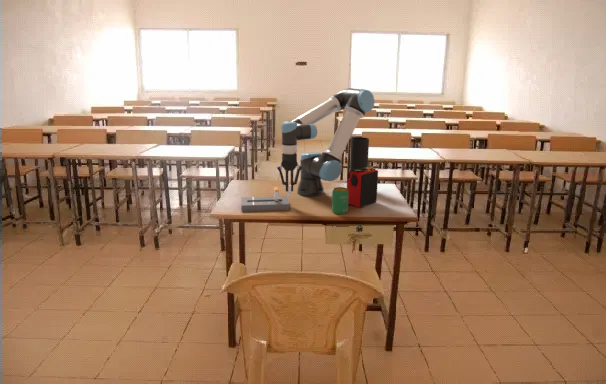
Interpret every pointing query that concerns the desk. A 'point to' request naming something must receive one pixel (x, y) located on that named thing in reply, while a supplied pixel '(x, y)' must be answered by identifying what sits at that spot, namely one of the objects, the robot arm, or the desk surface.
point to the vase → (359, 153)
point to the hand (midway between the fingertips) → (289, 197)
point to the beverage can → (340, 200)
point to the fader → (276, 194)
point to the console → (264, 203)
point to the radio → (362, 186)
